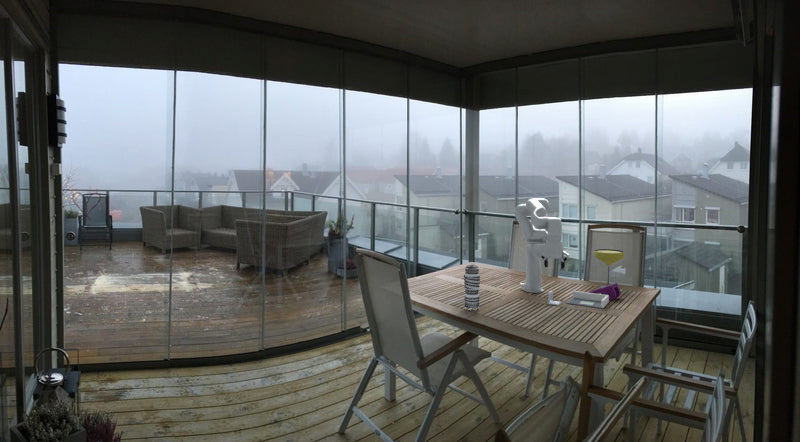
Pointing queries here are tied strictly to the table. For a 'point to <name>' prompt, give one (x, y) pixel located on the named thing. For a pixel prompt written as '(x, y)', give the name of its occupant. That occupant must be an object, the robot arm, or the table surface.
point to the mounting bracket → (608, 291)
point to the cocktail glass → (608, 257)
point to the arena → (589, 299)
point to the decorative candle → (471, 286)
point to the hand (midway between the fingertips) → (554, 267)
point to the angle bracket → (550, 299)
